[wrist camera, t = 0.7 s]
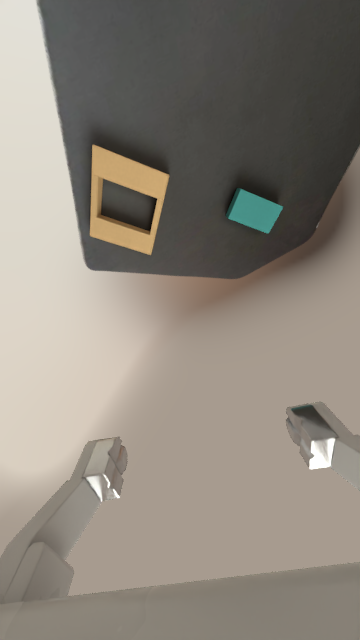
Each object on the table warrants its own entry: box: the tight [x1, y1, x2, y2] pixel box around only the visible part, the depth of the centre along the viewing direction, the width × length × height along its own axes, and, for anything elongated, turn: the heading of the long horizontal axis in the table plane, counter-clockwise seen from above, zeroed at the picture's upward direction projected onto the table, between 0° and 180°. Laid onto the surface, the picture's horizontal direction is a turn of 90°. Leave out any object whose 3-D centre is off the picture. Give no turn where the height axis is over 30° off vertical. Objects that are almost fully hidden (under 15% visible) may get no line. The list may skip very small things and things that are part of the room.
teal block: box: [226, 188, 283, 233], centre depth 41 cm, size 6×10×3 cm, turn 72°
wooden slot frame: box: [90, 145, 169, 255], centre depth 40 cm, size 16×14×3 cm
